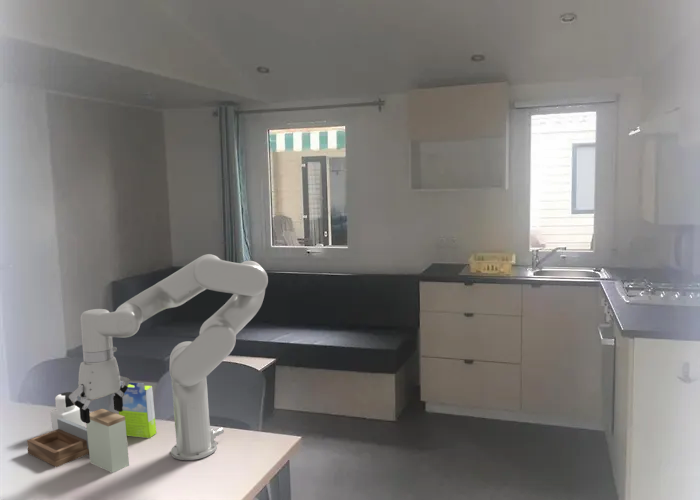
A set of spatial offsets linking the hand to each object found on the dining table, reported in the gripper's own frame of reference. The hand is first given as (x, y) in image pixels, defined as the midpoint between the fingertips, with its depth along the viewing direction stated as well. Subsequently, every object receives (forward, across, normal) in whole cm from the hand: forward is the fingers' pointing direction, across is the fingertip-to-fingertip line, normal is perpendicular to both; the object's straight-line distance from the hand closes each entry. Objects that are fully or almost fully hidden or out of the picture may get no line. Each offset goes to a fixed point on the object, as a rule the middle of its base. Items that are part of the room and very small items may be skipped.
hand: (102, 416), depth 167 cm
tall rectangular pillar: (+14, -1, +1) cm, 14 cm away
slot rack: (+14, +4, -18) cm, 24 cm away
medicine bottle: (+14, -7, -31) cm, 35 cm away
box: (+14, -17, -9) cm, 24 cm away
